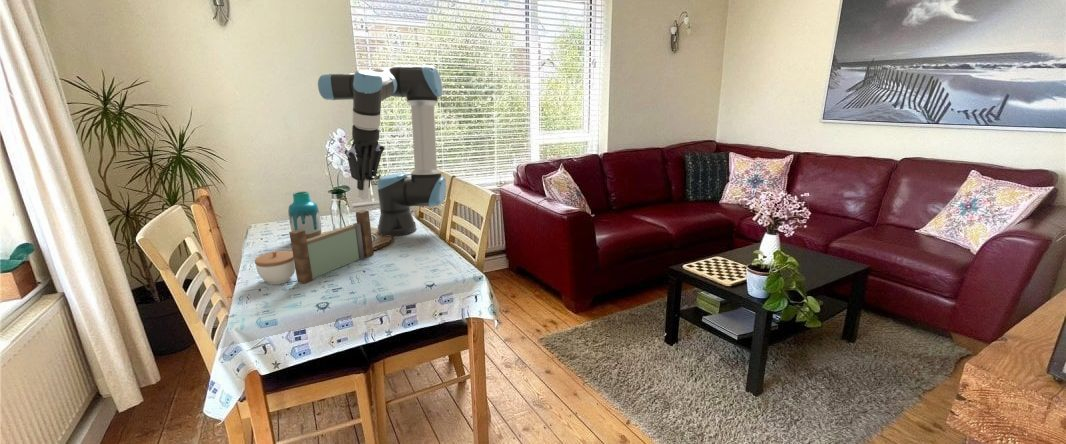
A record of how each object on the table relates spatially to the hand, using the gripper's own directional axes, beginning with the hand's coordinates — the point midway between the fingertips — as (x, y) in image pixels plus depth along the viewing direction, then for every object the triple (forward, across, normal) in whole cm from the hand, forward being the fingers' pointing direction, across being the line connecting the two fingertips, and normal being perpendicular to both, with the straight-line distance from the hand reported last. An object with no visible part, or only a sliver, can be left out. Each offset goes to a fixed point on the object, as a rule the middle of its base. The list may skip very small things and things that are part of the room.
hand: (363, 197), depth 145 cm
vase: (+35, -4, -34) cm, 49 cm away
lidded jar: (+26, +24, -8) cm, 36 cm away
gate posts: (+24, +7, -2) cm, 25 cm away
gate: (+24, +7, -2) cm, 25 cm away
